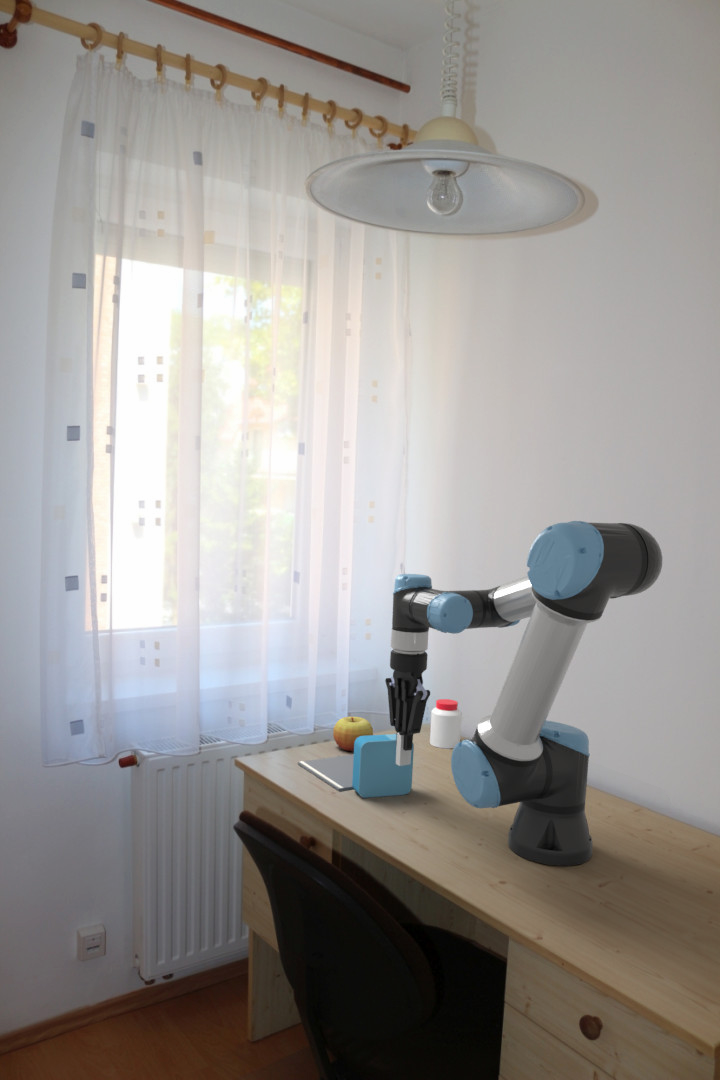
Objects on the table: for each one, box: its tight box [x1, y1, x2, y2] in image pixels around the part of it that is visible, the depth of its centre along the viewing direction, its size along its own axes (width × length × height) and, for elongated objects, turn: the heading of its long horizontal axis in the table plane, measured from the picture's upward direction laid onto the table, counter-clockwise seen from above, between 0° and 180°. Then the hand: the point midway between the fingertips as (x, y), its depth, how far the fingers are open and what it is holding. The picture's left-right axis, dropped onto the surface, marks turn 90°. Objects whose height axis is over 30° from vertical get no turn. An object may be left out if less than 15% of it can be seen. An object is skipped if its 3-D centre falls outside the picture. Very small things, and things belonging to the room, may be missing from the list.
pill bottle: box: [429, 698, 462, 750], centre depth 220 cm, size 8×8×11 cm
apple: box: [332, 716, 374, 752], centre depth 213 cm, size 10×10×8 cm
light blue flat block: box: [352, 733, 415, 799], centre depth 183 cm, size 12×4×12 cm, turn 109°
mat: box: [297, 753, 354, 792], centre depth 196 cm, size 19×18×1 cm
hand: (403, 763), depth 177 cm, fingers closed
